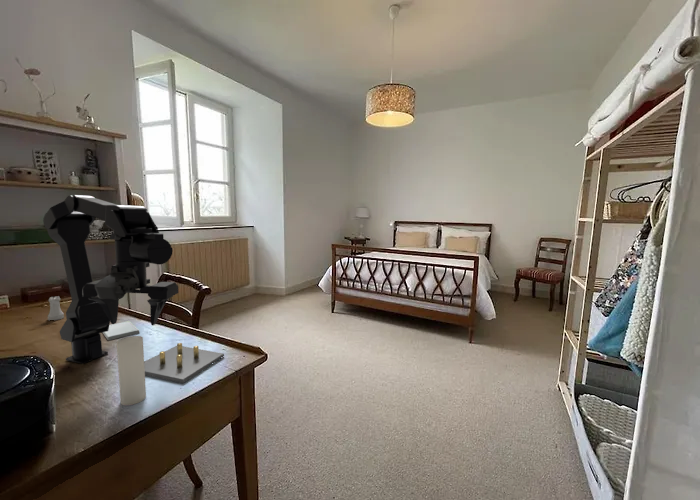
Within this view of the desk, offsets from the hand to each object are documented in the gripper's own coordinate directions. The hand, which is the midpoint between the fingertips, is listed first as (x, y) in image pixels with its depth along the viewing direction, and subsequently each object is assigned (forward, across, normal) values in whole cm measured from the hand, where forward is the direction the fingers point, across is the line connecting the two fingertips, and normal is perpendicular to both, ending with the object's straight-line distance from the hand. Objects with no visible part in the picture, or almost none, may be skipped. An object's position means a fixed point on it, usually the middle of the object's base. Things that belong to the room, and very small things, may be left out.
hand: (133, 324), depth 73 cm
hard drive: (+14, -22, +27) cm, 38 cm away
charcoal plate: (+12, +8, +5) cm, 16 cm away
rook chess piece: (+14, -53, +38) cm, 66 cm away
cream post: (+12, +6, -10) cm, 17 cm away
